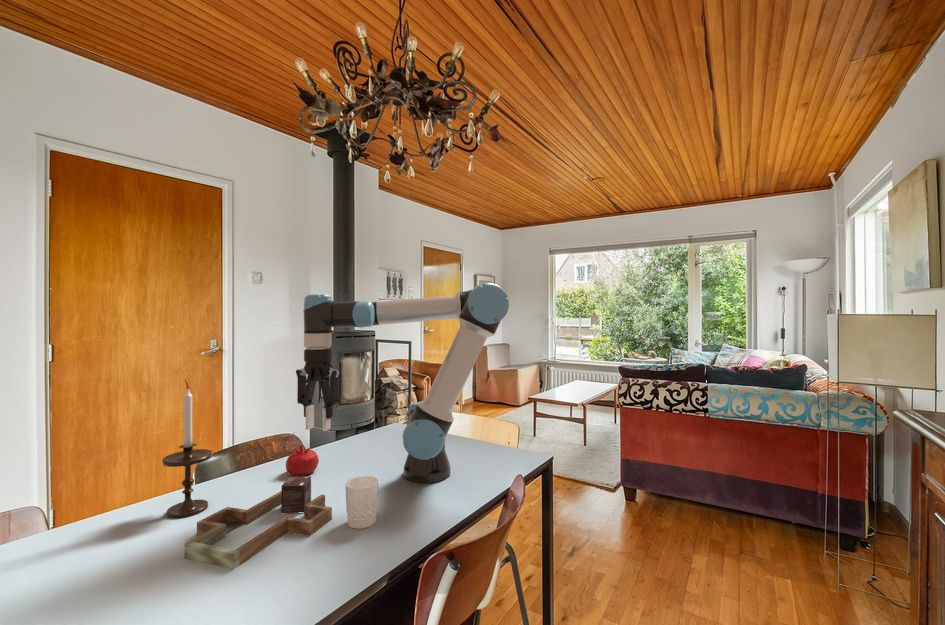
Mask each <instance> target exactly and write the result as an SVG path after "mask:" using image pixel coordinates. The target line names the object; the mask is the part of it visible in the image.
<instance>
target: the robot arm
mask: <svg viewBox="0 0 945 625" xmlns="http://www.w3.org/2000/svg"><path fill="white" fill-rule="evenodd" d="M509 307H510V301H509V297H508V294H507V292H506V291H505V289H504V288H502V287H501V286H500V285H498V284H496V283H492V282H483V283H482V282H481V283H479V284H477V285H475V287H473V288H472V289H469V290H465V291H458V292H456V294H454V295H444V296H443V295H442V296H441V295H440V296H430V297H429V296H428V297H420V298H419V297H417V298H408V299H407V298H406V299H394V300H393V299H392V300H382V301H366V300H357V301H353V300H349V301H335V300H334V301H333V299H332V296H331V295H330V294H325V293H324V294H322V293H321V294H315V293H314V294H307V295H306V296H305V297H304V303H303V310H302V311H303V330H304V331H303V347H304V350H303V361H304V362H305V364H304V366H303V367H302V368H300V369H296V370H295V373H296V378H297V390H296V391H297V395H296V396H297V398H296V400H297V404H300V405H302V406H303V416H304V418H305V430H308V431H309V430H311V429H313V428H315V405H314V402H313V399H314V393H315V390H316V389H315V388H316V385H317V383H318V384H319V385H320V390H321V394H322V399H323V404H324V406H323V407H321V408H322V409H321V410H322V411H321V412H322V414H321V415H322V421H321V422H322V428H321V429H322V432H326V431H328V430H330V429H331V424H332V423H331V422H332V420H331V419H332V418H333V413H334V412H333V409H334V408H333V407H334V406H337V405H339V404H340V376H341V370H340V369H334V368H333V366H332V364H331V362H332V360H333V359H332V358H333V352H332V348H330V347H332V345H333V343H332V336H333V335H332V330H333V329H332V328H360V329H362V328H370V327H372V326H373V327H374V326H380V325H393V324H404V323H405V324H406V323H417V322H419V323H420V322H430V321H431V322H433V321H443V320H458V321H459V325H460V326H459V328H458V330H457V332H456V334H455V336H454V339H453V341H452V342H451V344H450V346H449V349H448V351H447V353H446V355H445V358H444V359H443V361H442V364H441V366H440V368H439V369H438V372H437V374H436V376H435V378H434V380H433V382H432V384H431V387H430V389H429V391H428V393H427V395H426V397H425V399H423V400H421V401H418V402H412V403H410V404H409V405H408V410H407V413H408V421H407V423H406V424H407V425H406V427H405V428H404V430H403V432H402V444H403V447H404V450H405V451H406V452H407V456H406V460H405V463H404V465H403V477H404V479H406V480H407V481H411V482H413V483H423V484H425V483H437V482H440V481H443V480H446V479H447V478H449V477H450V476H451V472H452V471H451V463H450V461H449V457H448V454H447V451H446V437H447V435H448V433H449V431H450V429H451V427H452V425H453V422H454V420H455V418H454V416H453V410H454V407H455V406H456V404H457V401H458V400H459V398H460V396H461V394H462V391H463V389H464V387H465V386H466V383H467V381H468V379H469V377H470V374H471V372H472V370H473V368H474V366H475V364H476V362H477V359H478V357H479V355H480V354H481V352H482V349H483V347H484V345H485V343H486V341H487V339H488V338H490V337H493V336H495V333H496V332H497V329H498V328H499V326H500V324H501V321H502V320H503V319H504V318H505V317H506V316H507V314H508V311H509Z"/></svg>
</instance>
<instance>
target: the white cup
mask: <svg viewBox="0 0 945 625" xmlns="http://www.w3.org/2000/svg"><path fill="white" fill-rule="evenodd" d="M344 485H345V486H344V488H345V503H346V504H345V506H346V513H347V526H349V527H350V528H352V529H355V530H357V529H358V530H359V529H360V530H362V529H367V528H369V527H372V526H373V525H374V524H375V523H376V521H377V509H378V494H379V492H378V491H379V479H378V478H377V477H375V476H372V475H362V476H361V475H360V476H355V477H352V478H350V479H348V480H346V481H345V483H344Z"/></svg>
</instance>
